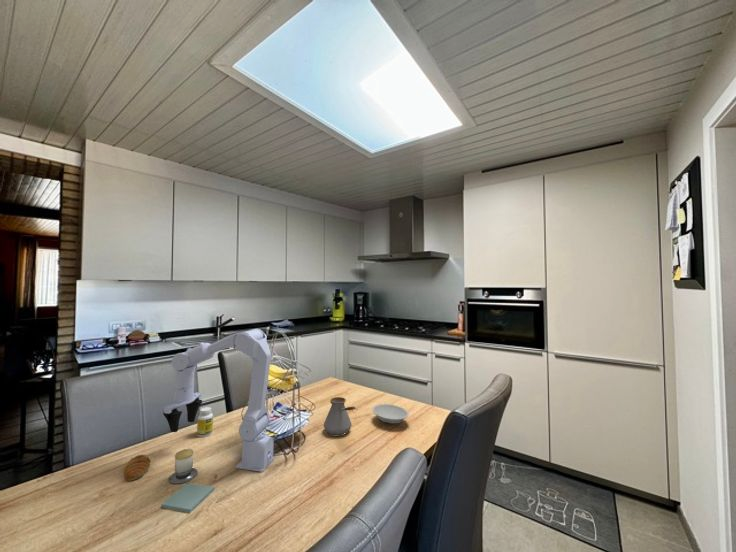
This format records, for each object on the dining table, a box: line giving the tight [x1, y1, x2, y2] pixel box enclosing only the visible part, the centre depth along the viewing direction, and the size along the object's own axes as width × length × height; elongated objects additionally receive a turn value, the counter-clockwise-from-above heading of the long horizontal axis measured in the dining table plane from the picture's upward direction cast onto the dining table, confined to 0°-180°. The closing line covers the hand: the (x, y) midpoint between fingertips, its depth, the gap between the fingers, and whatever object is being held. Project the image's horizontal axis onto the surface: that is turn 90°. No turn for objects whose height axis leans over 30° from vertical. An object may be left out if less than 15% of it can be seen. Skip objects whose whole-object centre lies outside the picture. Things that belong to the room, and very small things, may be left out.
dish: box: [372, 403, 409, 425], centre depth 133 cm, size 18×14×5 cm
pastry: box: [123, 454, 151, 482], centre depth 94 cm, size 9×7×4 cm
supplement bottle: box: [196, 406, 214, 438], centre depth 120 cm, size 5×5×10 cm
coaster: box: [160, 482, 215, 514], centre depth 83 cm, size 9×9×1 cm
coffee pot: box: [323, 396, 358, 436], centre depth 120 cm, size 21×12×15 cm, turn 29°
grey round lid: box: [168, 467, 199, 485], centre depth 93 cm, size 8×8×2 cm
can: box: [174, 448, 195, 473], centre depth 93 cm, size 5×5×4 cm
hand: (182, 426), depth 104 cm, fingers open, 7 cm apart
